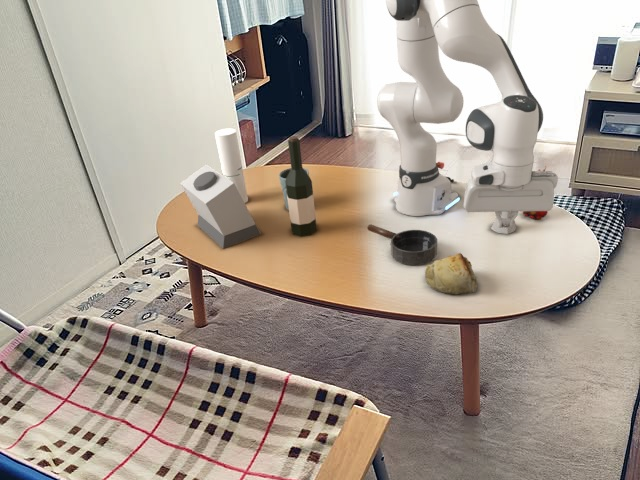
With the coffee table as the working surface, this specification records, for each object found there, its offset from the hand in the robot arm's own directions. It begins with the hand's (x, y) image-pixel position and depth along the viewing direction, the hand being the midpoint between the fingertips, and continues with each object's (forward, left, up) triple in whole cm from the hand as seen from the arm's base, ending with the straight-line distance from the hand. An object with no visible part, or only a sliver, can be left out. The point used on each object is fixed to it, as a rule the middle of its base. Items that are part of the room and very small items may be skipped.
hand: (504, 226), depth 136 cm
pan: (+1, -26, -17) cm, 31 cm away
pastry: (+7, -10, -17) cm, 21 cm away
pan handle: (+1, -38, -14) cm, 40 cm away
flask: (-27, -14, -17) cm, 35 cm away
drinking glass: (-1, -78, -17) cm, 80 cm away
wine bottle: (+10, -63, -17) cm, 66 cm away
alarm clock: (+26, -84, -17) cm, 90 cm away
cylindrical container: (+9, -99, -17) cm, 101 cm away
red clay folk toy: (-40, -11, -17) cm, 45 cm away
